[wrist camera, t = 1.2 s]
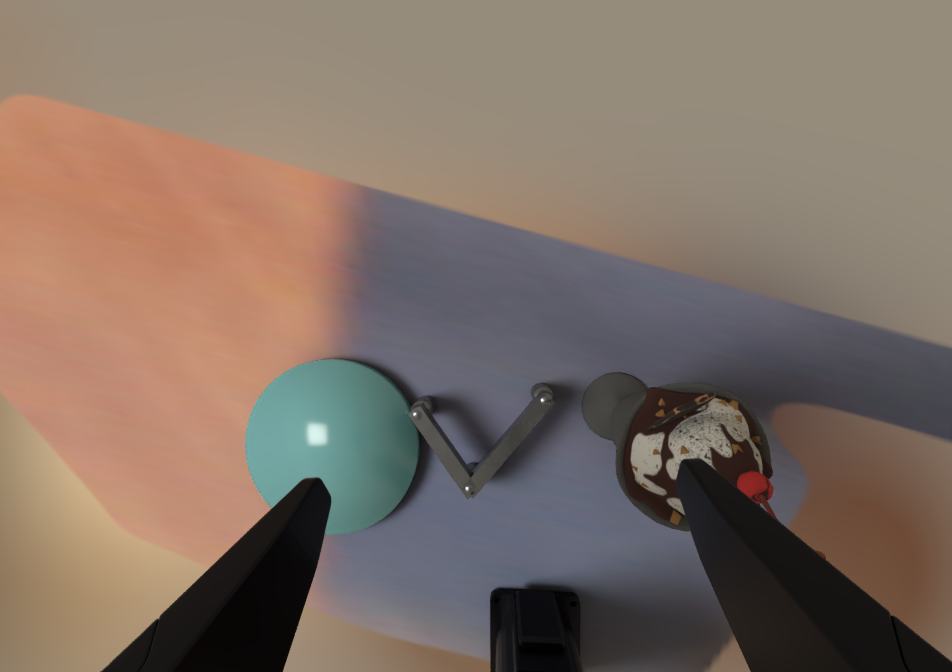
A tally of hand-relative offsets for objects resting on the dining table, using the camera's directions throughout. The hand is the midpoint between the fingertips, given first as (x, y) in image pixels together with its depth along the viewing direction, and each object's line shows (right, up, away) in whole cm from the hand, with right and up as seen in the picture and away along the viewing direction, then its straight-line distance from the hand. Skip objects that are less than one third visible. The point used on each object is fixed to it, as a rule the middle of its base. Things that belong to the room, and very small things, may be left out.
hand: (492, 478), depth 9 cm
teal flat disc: (-11, -5, +18) cm, 22 cm away
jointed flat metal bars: (0, -4, +18) cm, 18 cm away
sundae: (+10, -2, +17) cm, 20 cm away
